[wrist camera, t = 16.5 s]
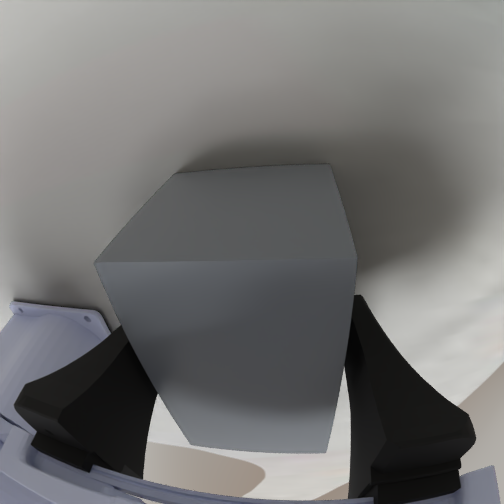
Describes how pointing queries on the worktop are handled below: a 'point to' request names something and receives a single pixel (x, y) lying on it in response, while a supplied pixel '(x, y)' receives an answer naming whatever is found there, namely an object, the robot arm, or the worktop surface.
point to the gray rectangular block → (240, 303)
